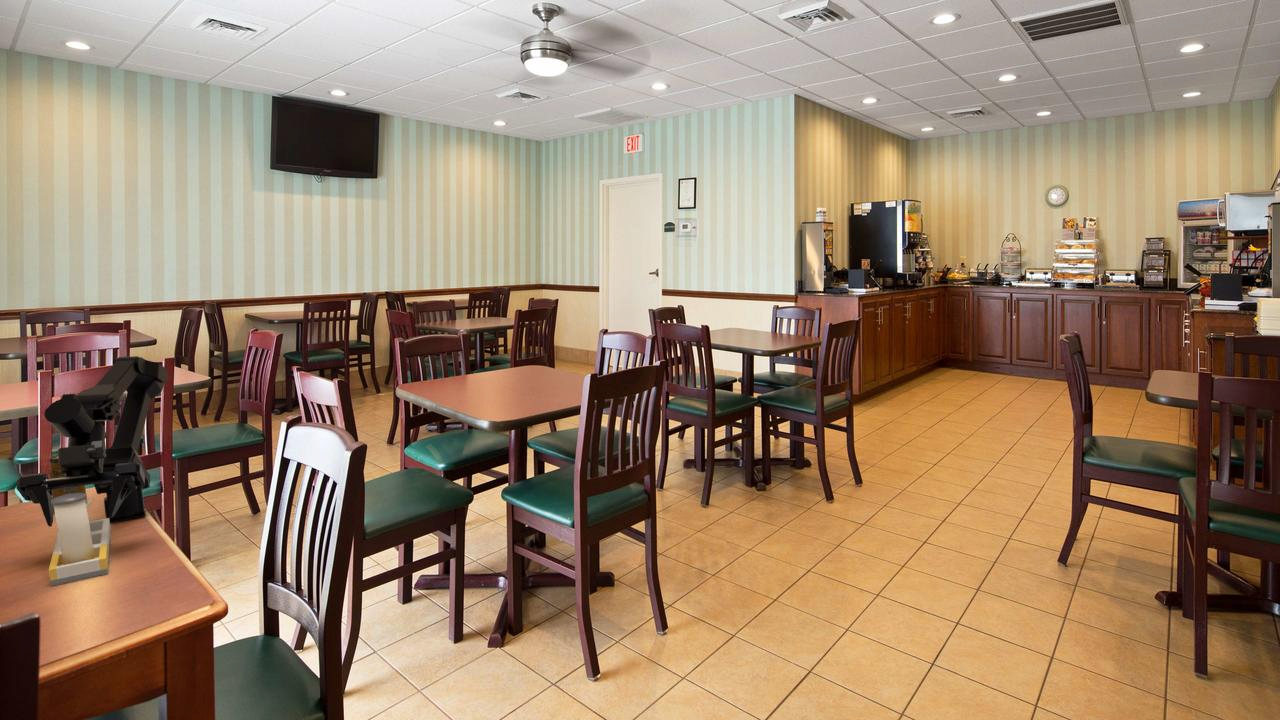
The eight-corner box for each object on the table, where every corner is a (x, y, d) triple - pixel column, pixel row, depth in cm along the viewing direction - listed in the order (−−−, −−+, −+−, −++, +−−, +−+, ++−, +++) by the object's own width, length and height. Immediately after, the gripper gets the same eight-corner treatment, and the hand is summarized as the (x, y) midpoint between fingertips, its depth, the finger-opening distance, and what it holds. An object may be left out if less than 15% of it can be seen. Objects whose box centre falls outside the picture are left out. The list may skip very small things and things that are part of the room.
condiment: (93, 499, 167) (86, 450, 165) (83, 510, 159) (76, 459, 157) (54, 504, 164) (47, 454, 162) (43, 516, 156) (35, 464, 154)
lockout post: (97, 556, 132) (86, 490, 130) (96, 566, 128) (85, 497, 126) (63, 564, 129) (52, 496, 127) (61, 573, 125) (49, 504, 123)
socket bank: (110, 531, 147) (109, 517, 147) (107, 573, 128) (105, 558, 128) (61, 540, 143) (60, 526, 142) (50, 586, 123) (48, 570, 123)
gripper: (11, 433, 129) (1, 511, 121) (135, 421, 137) (132, 493, 130) (30, 463, 137) (21, 537, 129) (146, 450, 145) (144, 519, 138)
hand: (80, 521), depth 131 cm, fingers open, 9 cm apart
